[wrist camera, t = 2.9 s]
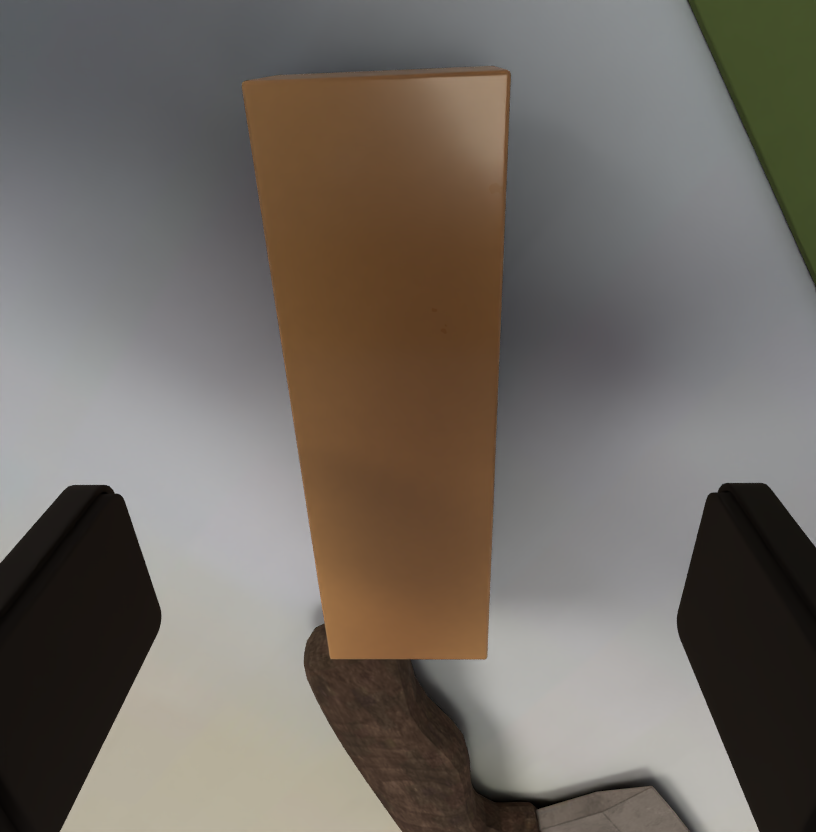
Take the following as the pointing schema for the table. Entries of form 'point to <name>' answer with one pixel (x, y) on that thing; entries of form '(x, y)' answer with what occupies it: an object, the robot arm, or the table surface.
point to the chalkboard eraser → (391, 338)
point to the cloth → (773, 95)
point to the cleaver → (445, 758)
